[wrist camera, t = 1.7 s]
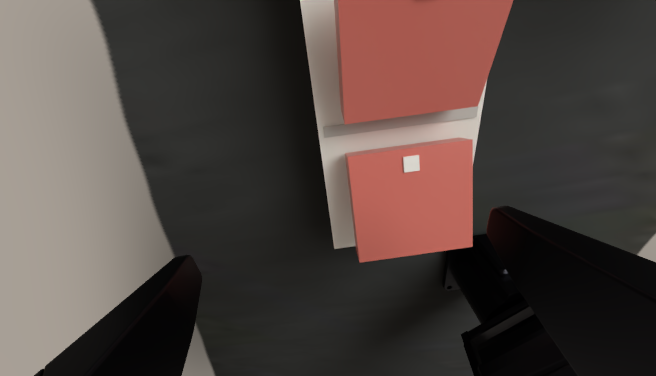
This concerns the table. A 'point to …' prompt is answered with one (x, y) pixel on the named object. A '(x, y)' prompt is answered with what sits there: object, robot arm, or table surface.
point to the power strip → (363, 134)
